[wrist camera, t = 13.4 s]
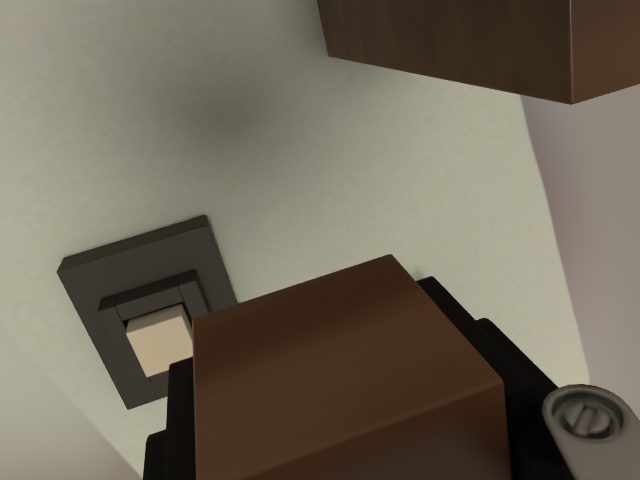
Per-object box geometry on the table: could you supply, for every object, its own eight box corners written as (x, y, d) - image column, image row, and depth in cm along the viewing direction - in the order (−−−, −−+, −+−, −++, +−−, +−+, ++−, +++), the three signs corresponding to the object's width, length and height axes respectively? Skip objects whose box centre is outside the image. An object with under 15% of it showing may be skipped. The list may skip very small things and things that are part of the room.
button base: (63, 258, 35) (49, 284, 32) (206, 214, 36) (208, 234, 33) (130, 391, 40) (125, 427, 37) (253, 349, 41) (260, 380, 38)
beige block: (128, 319, 34) (125, 334, 33) (181, 302, 35) (181, 315, 33) (148, 362, 36) (146, 378, 34) (199, 345, 36) (199, 359, 35)
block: (190, 317, 11) (194, 494, 7) (391, 251, 11) (506, 380, 7) (251, 466, 13) (282, 672, 9) (420, 403, 13) (522, 571, 9)
